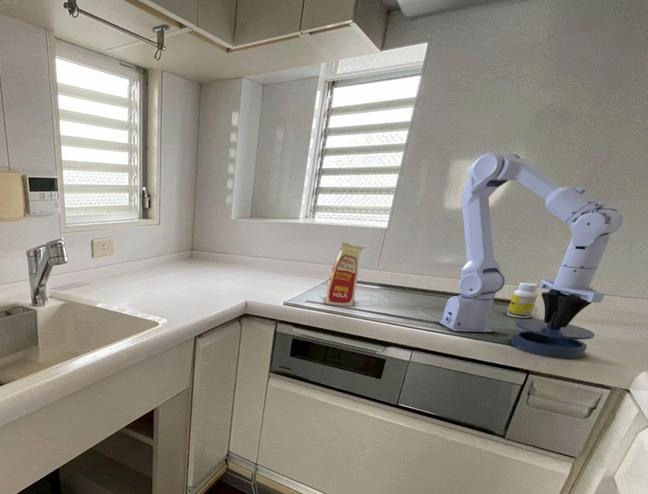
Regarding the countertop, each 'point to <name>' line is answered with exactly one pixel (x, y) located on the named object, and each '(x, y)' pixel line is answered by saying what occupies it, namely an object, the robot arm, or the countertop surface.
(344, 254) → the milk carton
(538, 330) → the pot lid
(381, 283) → the countertop surface
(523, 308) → the supplement bottle
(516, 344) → the pot
